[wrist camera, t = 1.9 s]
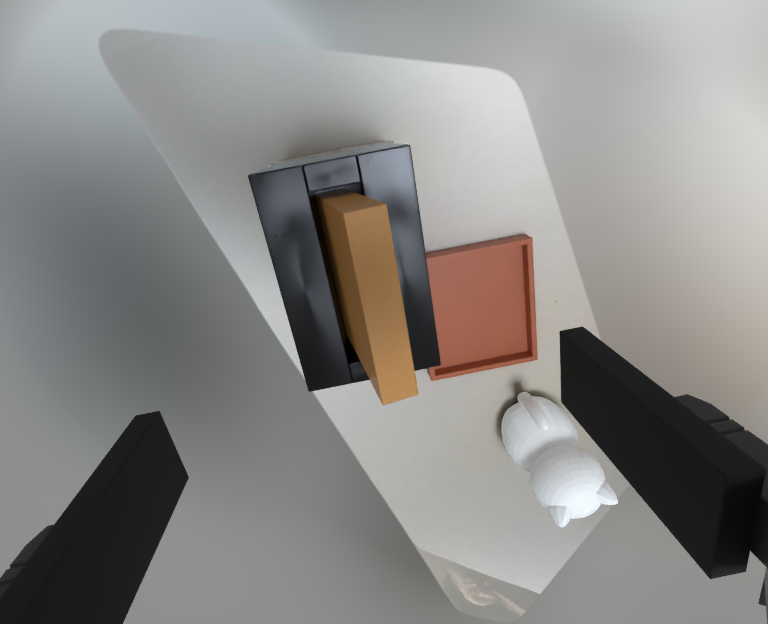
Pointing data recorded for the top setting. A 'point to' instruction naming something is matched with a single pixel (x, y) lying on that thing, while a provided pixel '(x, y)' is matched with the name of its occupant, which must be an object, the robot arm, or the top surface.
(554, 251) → the top surface
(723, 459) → the robot arm
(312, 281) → the toaster
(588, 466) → the cat figurine
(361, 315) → the toast
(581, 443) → the top surface
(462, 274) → the tray
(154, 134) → the top surface
